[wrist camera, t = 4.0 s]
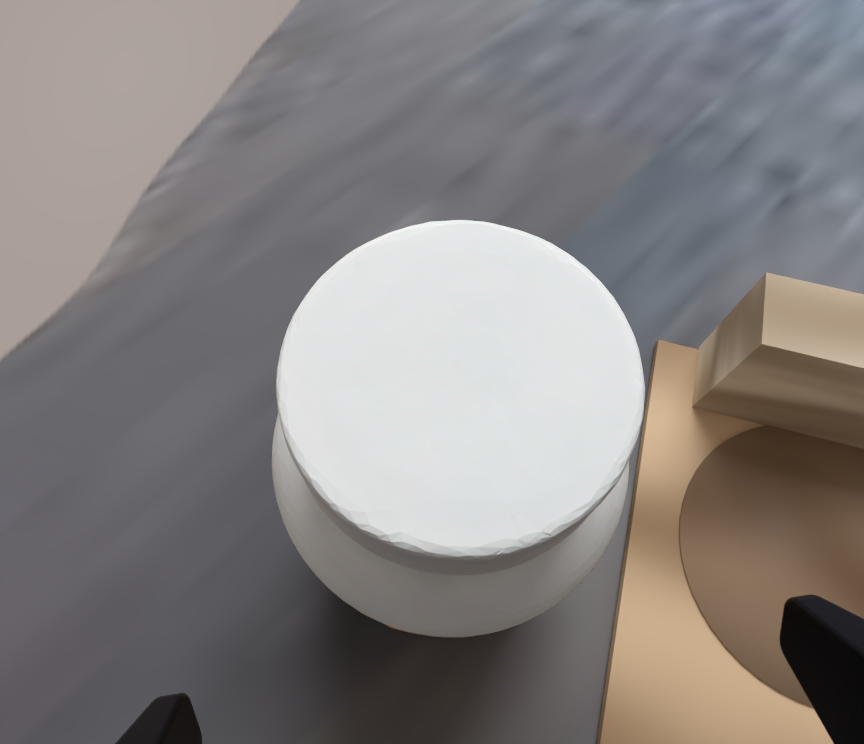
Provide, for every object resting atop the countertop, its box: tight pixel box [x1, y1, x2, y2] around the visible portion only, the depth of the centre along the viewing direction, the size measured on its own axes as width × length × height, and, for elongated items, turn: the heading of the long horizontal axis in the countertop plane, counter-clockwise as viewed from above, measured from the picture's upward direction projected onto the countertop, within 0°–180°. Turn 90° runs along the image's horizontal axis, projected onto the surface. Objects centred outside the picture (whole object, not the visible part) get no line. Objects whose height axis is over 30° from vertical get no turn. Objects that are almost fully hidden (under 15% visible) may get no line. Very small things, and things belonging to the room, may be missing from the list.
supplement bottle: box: [272, 220, 645, 637], centre depth 14 cm, size 7×7×13 cm
